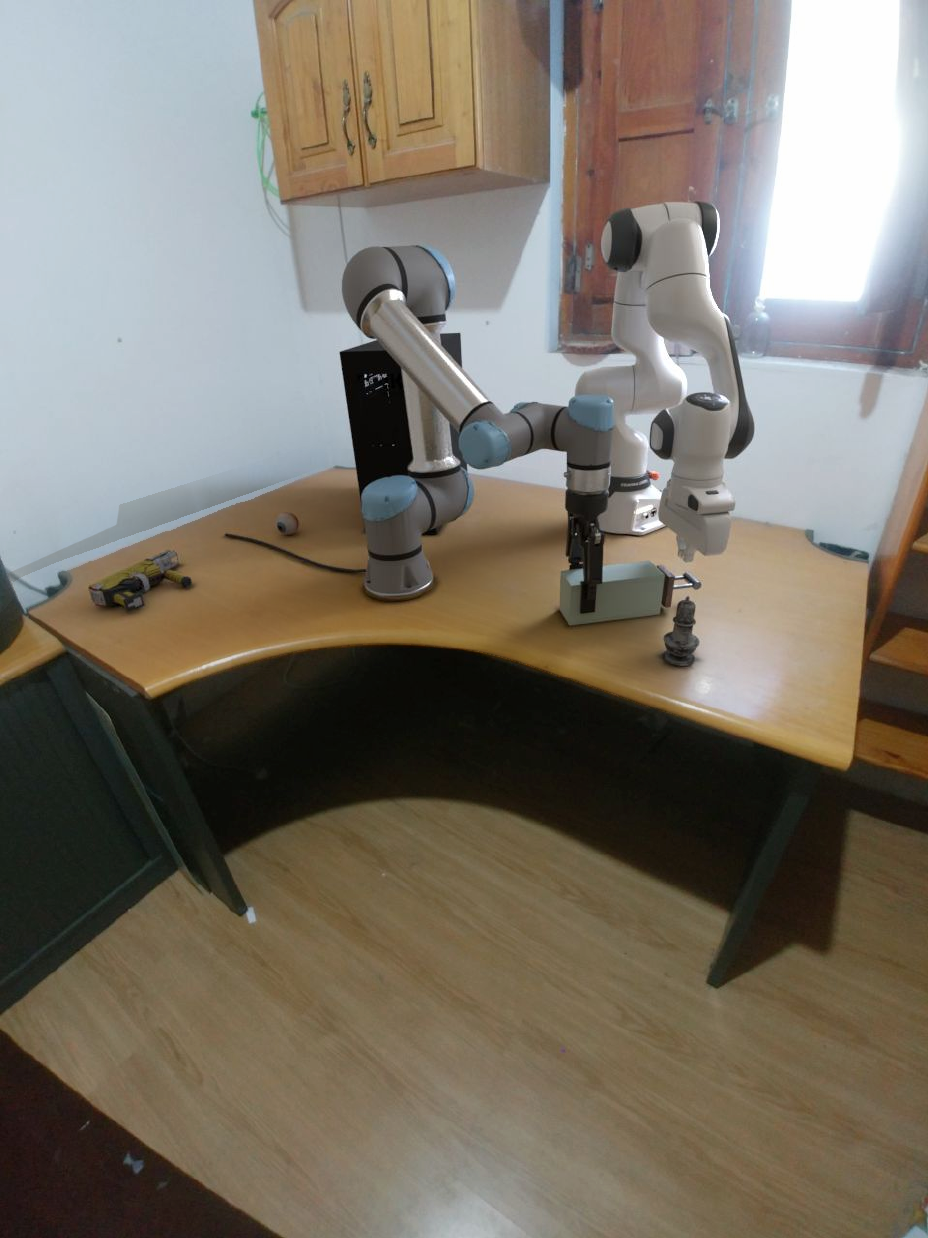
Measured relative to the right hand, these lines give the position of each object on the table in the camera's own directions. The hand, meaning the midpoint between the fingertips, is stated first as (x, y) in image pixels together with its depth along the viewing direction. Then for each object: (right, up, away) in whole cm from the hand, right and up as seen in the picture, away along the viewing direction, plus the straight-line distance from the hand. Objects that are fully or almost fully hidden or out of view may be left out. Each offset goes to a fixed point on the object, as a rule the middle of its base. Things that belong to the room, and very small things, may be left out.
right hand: (685, 559), depth 116 cm
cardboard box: (-55, +21, +61) cm, 85 cm away
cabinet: (-14, -10, +4) cm, 17 cm away
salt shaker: (-5, -18, -11) cm, 22 cm away
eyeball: (-91, +12, +49) cm, 104 cm away
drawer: (-8, -9, +4) cm, 12 cm away
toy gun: (-114, -5, +23) cm, 116 cm away
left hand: (-20, -8, +2) cm, 22 cm away
